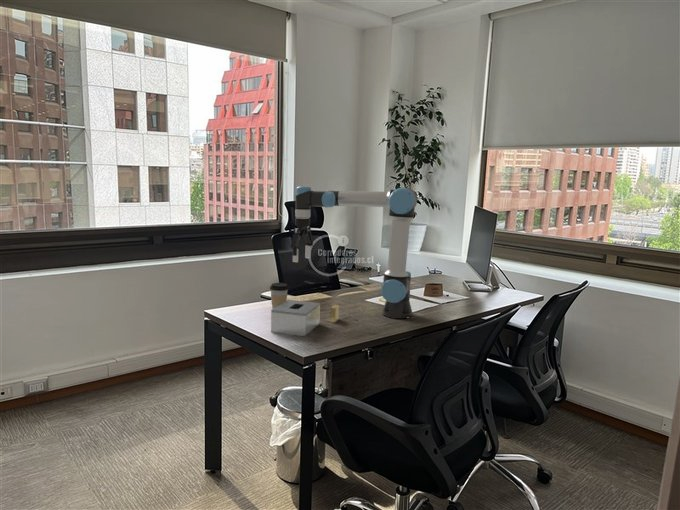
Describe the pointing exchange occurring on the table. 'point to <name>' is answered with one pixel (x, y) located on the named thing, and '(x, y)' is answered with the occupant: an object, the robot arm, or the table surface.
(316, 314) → the box
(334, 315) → the token
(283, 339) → the table surface
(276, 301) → the coffee cup
